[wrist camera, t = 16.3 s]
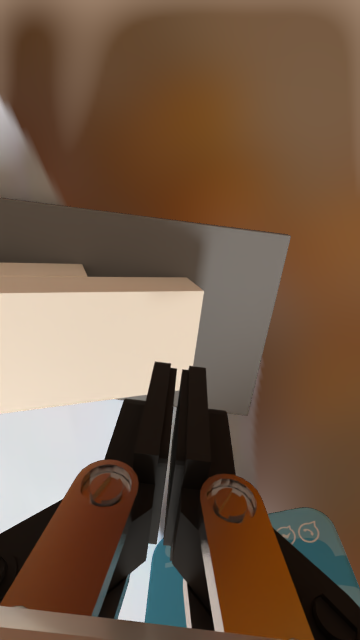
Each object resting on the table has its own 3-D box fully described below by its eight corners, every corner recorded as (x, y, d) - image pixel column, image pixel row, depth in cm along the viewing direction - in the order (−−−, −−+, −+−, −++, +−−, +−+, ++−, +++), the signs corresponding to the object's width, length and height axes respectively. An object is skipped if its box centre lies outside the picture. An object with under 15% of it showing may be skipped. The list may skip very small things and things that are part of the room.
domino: (175, 367, 18) (-19, 387, 15) (186, 277, 16) (-34, 276, 13) (189, 388, 16) (-26, 416, 13) (204, 291, 14) (-45, 293, 11)
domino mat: (-203, 354, 19) (-214, 358, 19) (-274, 162, 15) (-288, 162, 15) (246, 410, 19) (247, 415, 19) (288, 234, 15) (290, 236, 15)
